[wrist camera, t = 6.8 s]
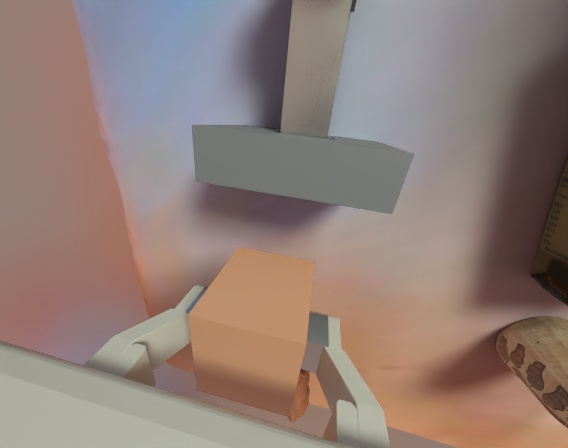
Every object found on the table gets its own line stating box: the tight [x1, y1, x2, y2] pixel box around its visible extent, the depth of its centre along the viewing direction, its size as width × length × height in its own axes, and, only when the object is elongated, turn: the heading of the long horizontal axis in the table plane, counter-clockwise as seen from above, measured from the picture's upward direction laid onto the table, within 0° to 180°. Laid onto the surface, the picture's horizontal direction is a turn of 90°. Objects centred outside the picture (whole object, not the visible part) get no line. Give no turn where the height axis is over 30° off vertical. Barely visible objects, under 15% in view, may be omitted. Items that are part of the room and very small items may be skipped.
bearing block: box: [192, 125, 414, 214], centre depth 15 cm, size 3×11×8 cm, turn 84°
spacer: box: [188, 247, 315, 417], centre depth 10 cm, size 4×4×4 cm
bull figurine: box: [288, 369, 310, 422], centre depth 24 cm, size 4×13×8 cm, turn 3°
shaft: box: [280, 0, 356, 139], centre depth 13 cm, size 14×4×6 cm, turn 174°
